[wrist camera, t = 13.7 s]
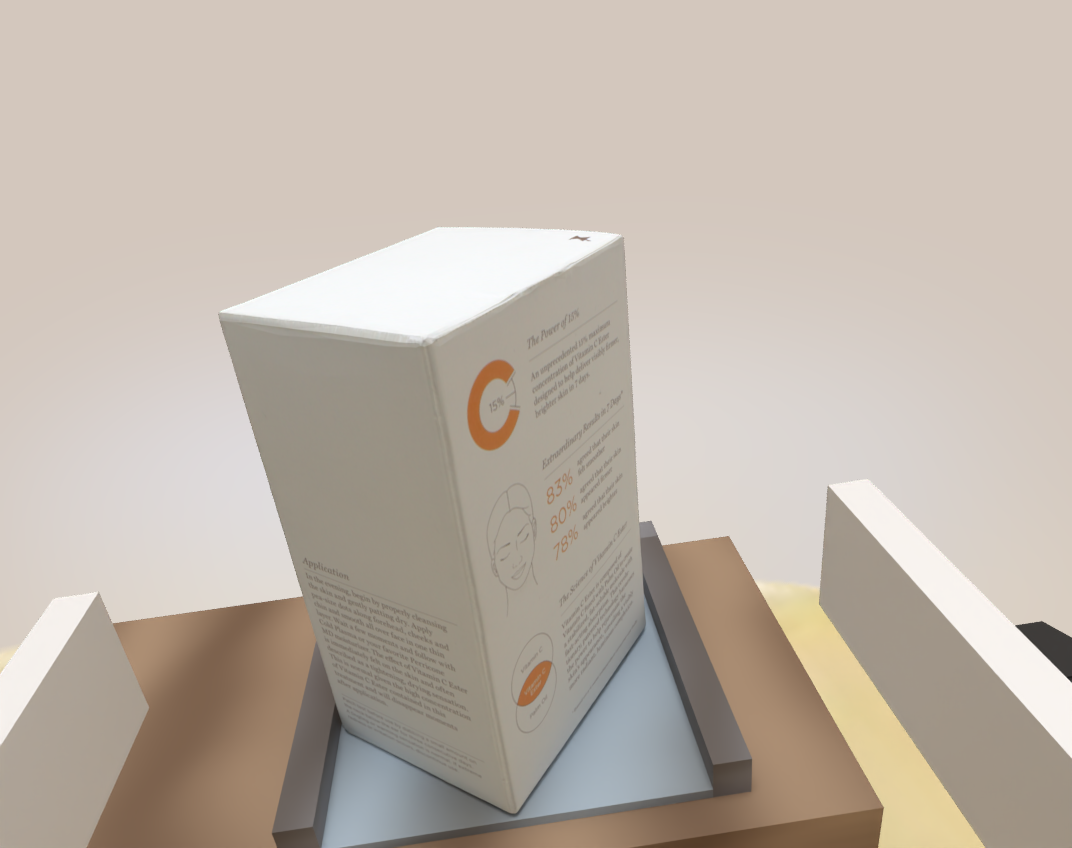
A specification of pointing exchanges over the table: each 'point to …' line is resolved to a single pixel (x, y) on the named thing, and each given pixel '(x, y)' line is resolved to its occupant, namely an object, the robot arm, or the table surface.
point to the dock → (566, 786)
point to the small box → (457, 488)
